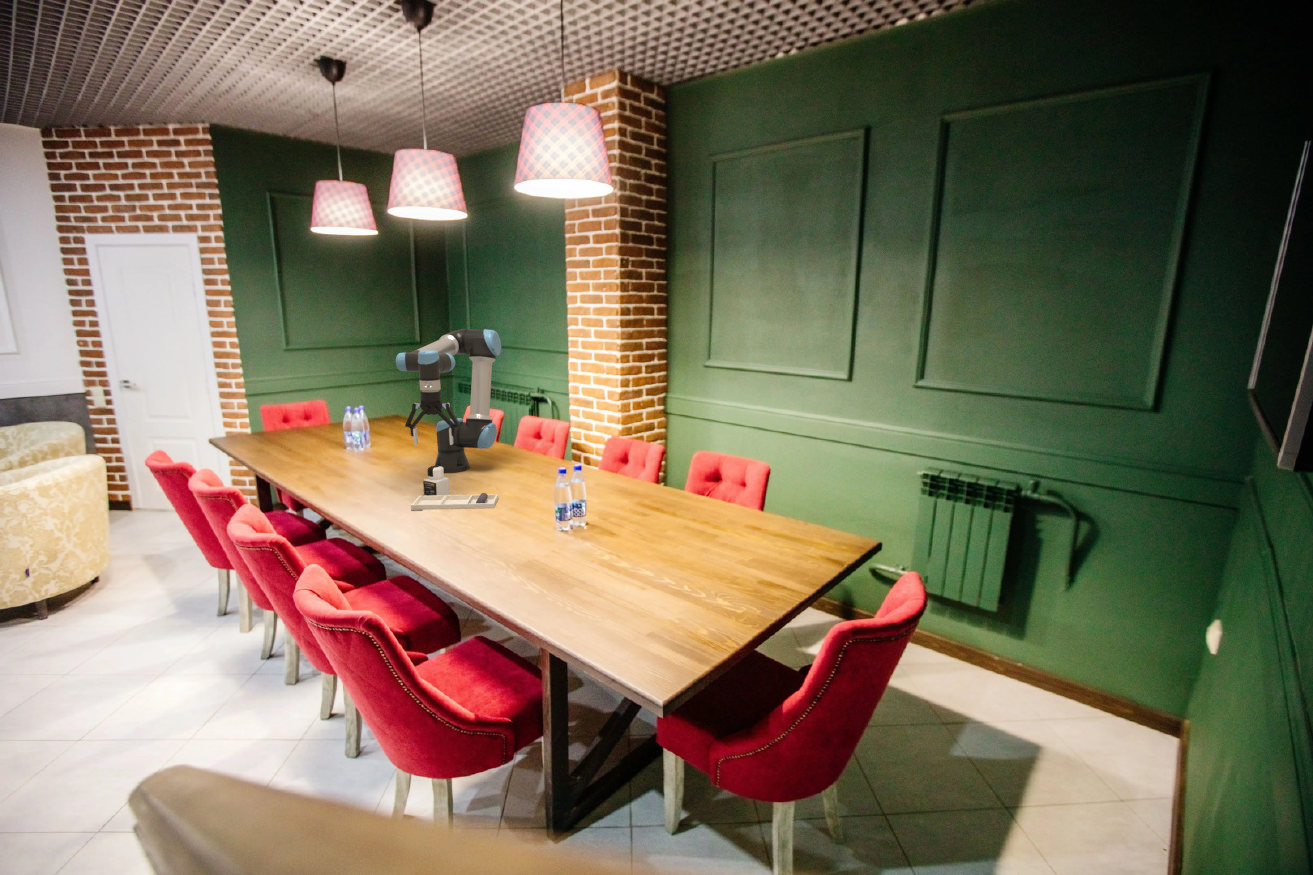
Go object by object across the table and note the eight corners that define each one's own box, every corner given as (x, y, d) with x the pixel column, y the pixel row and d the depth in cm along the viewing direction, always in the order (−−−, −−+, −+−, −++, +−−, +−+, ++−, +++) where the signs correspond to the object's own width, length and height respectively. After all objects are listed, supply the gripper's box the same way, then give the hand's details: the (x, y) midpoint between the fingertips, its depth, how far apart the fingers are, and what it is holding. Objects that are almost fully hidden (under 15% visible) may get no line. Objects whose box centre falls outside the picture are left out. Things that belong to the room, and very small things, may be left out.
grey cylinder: (479, 500, 247) (479, 492, 246) (487, 500, 247) (487, 492, 247) (476, 506, 239) (475, 499, 239) (484, 506, 240) (484, 499, 239)
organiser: (419, 501, 247) (419, 495, 246) (498, 499, 250) (498, 494, 249) (411, 510, 235) (410, 505, 235) (493, 509, 238) (493, 503, 238)
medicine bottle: (423, 496, 252) (421, 467, 250) (437, 492, 258) (435, 463, 256) (436, 499, 249) (434, 470, 246) (450, 494, 255) (448, 465, 253)
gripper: (394, 392, 240) (398, 446, 244) (461, 392, 242) (464, 446, 247) (400, 389, 247) (404, 442, 252) (465, 389, 249) (468, 441, 254)
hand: (433, 444), depth 249 cm, fingers open, 13 cm apart
